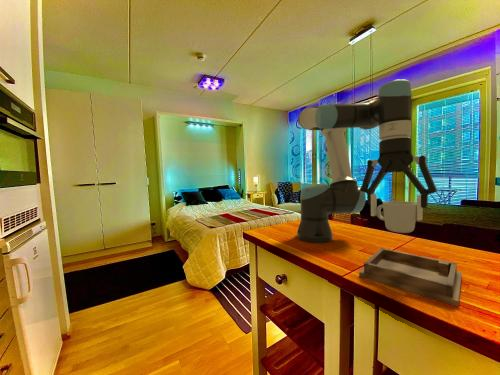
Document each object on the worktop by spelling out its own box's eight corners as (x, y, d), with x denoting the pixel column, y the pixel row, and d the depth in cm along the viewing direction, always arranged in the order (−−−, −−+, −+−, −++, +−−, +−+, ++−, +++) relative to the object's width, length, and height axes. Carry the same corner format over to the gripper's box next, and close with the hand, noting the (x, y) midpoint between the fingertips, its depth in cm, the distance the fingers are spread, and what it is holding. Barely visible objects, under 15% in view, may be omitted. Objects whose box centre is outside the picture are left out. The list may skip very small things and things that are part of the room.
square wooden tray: (359, 276, 60) (359, 263, 60) (378, 257, 73) (378, 246, 72) (458, 306, 46) (458, 290, 46) (461, 276, 58) (462, 263, 58)
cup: (367, 227, 65) (367, 201, 65) (386, 224, 68) (386, 199, 67) (404, 236, 55) (404, 205, 55) (424, 232, 58) (424, 203, 57)
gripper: (347, 143, 66) (348, 215, 67) (448, 129, 49) (448, 224, 50) (357, 145, 71) (358, 212, 72) (451, 133, 54) (451, 220, 55)
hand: (395, 217), depth 61 cm, fingers closed on cup, 10 cm apart
